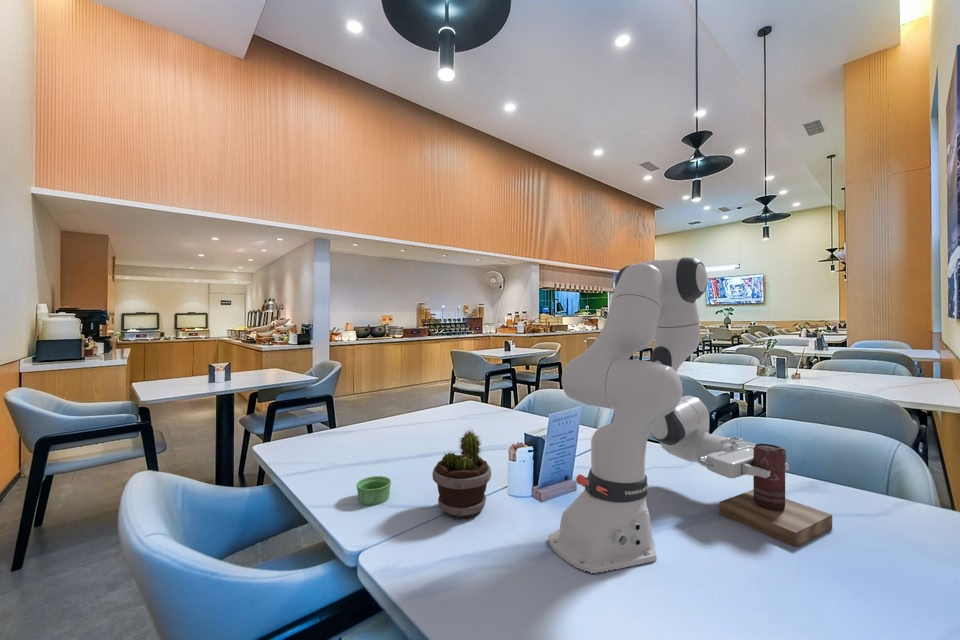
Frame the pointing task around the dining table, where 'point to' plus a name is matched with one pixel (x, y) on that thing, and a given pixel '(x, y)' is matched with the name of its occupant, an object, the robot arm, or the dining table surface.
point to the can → (771, 488)
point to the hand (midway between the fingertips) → (778, 470)
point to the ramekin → (373, 490)
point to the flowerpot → (462, 479)
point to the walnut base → (777, 518)
